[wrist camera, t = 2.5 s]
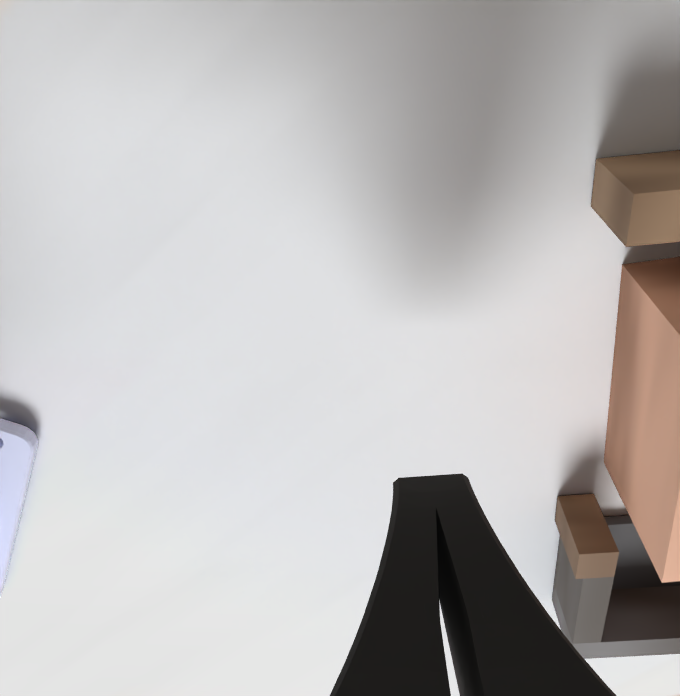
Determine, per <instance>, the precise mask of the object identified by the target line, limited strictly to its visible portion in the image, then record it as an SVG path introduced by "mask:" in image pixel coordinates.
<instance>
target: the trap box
mask: <svg viewBox="0 0 680 696" xmlns="http://www.w3.org/2000/svg"><path fill="white" fill-rule="evenodd" d="M591 207H592V208H593V209H594V211H595V212H596V213H597V214H598V215H599V216H600V217H601V219H602V220H603V221H604V222H605V223H606V224H607V226H608V227H609V228H610V229H611V230H612V231H613V232H614V234H615V235H616V236H617V237H618V238H619V239H620V241H621V242H622V243H623V244H624V245H625V246H626V247H630V246H640V245H651V244H662V243H673V242H680V150H677V151H667V152H657V153H647V154H637V155H628V156H618V157H608V158H598V159H596V166H595V175H594V183H593V192H592V201H591ZM555 522H556V525H557V528H558V531H559V533H560V540H559V548H558V556H557V564H556V572H555V580H554V588H553V596H552V601H553V605H554V608H555V611H556V615H557V618H558V621H559V624H560V628H561V631H562V633H563V634H564V635H565V636H566V638H567V639H568V640H569V641H570V643H571V644H572V645H573V646H574V647H575V649H576V650H577V651H578V652H579V654H580V655H581V656H582V657H583V658H584V659H586V658H606V657H625V656H644V655H663V654H680V581H677V582H666V583H662V582H661V580H660V578H659V576H658V574H657V572H656V570H655V568H654V566H653V563H652V561H651V559H650V557H649V555H648V553H647V551H646V549H645V547H644V545H643V543H642V541H641V539H640V536H639V534H638V532H637V530H636V528H635V526H634V524H633V522H632V520H631V518H630V516H629V515H628V516H613V517H604V516H603V514H602V511H601V509H600V507H599V504H598V502H597V500H596V497H595V495H594V494H582V495H568V496H558V498H557V507H556V515H555Z"/></svg>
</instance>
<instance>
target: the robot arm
mask: <svg viewBox="0 0 680 696" xmlns="http://www.w3.org/2000/svg"><path fill="white" fill-rule="evenodd" d="M37 447H38V438H37V436H36V435H35V433H34V432H33V431H32V430H30V429H29V428H28V427H25V426H23V425H21V424H17V423H14V422H11V421H8V420H4V419H1V418H0V598H1V596H2V592H3V588H4V584H5V580H6V576H7V571H8V567H9V563H10V559H11V555H12V551H13V547H14V542H15V538H16V534H17V530H18V526H19V522H20V518H21V513H22V509H23V505H24V501H25V497H26V493H27V489H28V484H29V480H30V476H31V472H32V468H33V464H34V460H35V455H36V451H37ZM439 599H440V604H441V609H442V614H443V618H444V623H445V628H446V632H447V637H448V642H449V646H450V651H451V656H452V660H453V665H454V670H455V674H456V679H457V684H458V688H459V693H460V696H616V695H615V694H614V693H613V692H612V690H611V689H610V688H609V687H608V686H607V685H606V684H605V683H604V682H603V680H602V679H601V678H600V677H599V676H598V675H597V674H596V672H595V671H594V670H593V669H592V668H591V667H590V665H589V664H588V663H587V662H586V661H585V660H584V658H583V657H582V656H581V655H580V654H579V652H578V651H577V650H576V649H575V647H574V646H573V645H572V644H571V643H570V641H569V640H568V639H567V638H566V636H565V635H564V634H563V633H562V631H561V630H560V629H559V627H558V626H557V625H556V624H555V622H554V621H553V620H552V618H551V617H550V616H549V614H548V613H547V612H546V610H545V609H544V607H543V606H542V605H541V603H540V602H539V600H538V599H537V598H536V596H535V595H534V593H533V592H532V591H531V589H530V588H529V586H528V585H527V583H526V582H525V580H524V579H523V577H522V576H521V574H520V573H519V571H518V570H517V568H516V567H515V565H514V563H513V562H512V560H511V559H510V557H509V556H508V554H507V552H506V551H505V549H504V548H503V546H502V544H501V543H500V541H499V539H498V538H497V536H496V534H495V532H494V531H493V529H492V527H491V525H490V523H489V522H488V520H487V518H486V516H485V514H484V512H483V510H482V508H481V506H480V504H479V502H478V500H477V498H476V496H475V494H474V492H473V489H472V487H471V484H470V482H469V479H468V477H466V476H465V475H463V474H451V475H436V476H421V477H406V478H398V479H397V480H396V481H395V482H393V503H392V512H391V518H390V523H389V529H388V534H387V539H386V543H385V546H384V550H383V554H382V558H381V562H380V566H379V570H378V573H377V577H376V580H375V583H374V586H373V589H372V592H371V595H370V598H369V601H368V604H367V607H366V610H365V613H364V616H363V619H362V621H361V624H360V627H359V629H358V632H357V635H356V637H355V640H354V642H353V645H352V647H351V649H350V652H349V654H348V657H347V659H346V661H345V664H344V666H343V668H342V670H341V673H340V675H339V677H338V679H337V681H336V683H335V686H334V688H333V690H332V692H331V694H330V696H451V694H450V688H449V681H448V674H447V667H446V660H445V653H444V646H443V639H442V632H441V625H440V611H439Z"/></svg>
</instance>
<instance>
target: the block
mask: <svg viewBox="0 0 680 696" xmlns="http://www.w3.org/2000/svg"><path fill="white" fill-rule="evenodd" d="M604 464H605V466H606V468H607V470H608V472H609V474H610V476H611V478H612V480H613V482H614V484H615V487H616V489H617V491H618V493H619V495H620V497H621V499H622V501H623V503H624V505H625V507H626V509H627V512H628V514H629V516H630V518H631V520H632V522H633V524H634V526H635V528H636V530H637V532H638V534H639V536H640V539H641V541H642V543H643V545H644V547H645V549H646V551H647V553H648V555H649V557H650V559H651V561H652V563H653V566H654V568H655V570H656V572H657V574H658V576H659V578H660V580H661V582H662V583H666V582H677V581H680V257H674V258H666V259H659V260H652V261H644V262H637V263H629V264H622V272H621V283H620V294H619V304H618V315H617V326H616V337H615V347H614V358H613V369H612V379H611V390H610V401H609V411H608V422H607V433H606V443H605V454H604Z"/></svg>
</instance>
